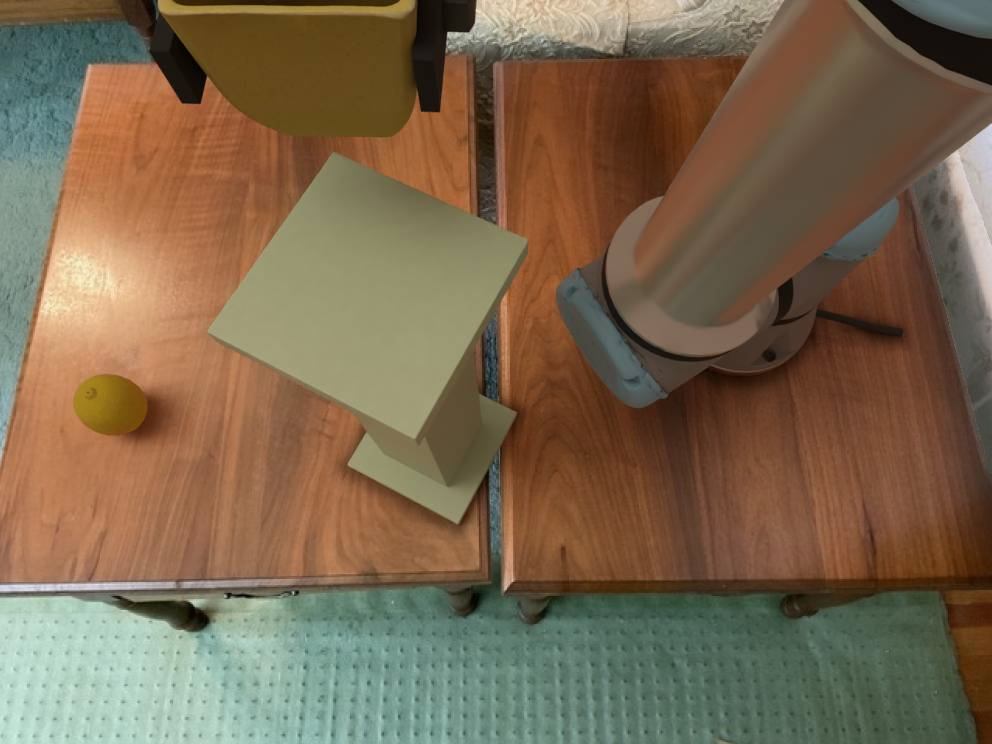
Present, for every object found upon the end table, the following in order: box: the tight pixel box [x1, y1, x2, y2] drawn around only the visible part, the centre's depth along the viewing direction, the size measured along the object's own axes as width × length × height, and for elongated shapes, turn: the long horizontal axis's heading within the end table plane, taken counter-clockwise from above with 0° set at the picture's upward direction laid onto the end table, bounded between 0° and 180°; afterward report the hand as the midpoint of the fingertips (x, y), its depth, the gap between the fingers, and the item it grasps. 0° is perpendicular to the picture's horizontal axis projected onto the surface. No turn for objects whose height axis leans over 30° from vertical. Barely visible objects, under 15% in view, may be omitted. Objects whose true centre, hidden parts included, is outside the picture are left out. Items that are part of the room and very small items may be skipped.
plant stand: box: [206, 151, 530, 526], centre depth 51 cm, size 12×12×34 cm
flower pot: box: [157, 0, 419, 139], centre depth 29 cm, size 9×9×9 cm
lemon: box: [72, 373, 149, 437], centre depth 65 cm, size 6×6×8 cm
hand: (300, 82), depth 26 cm, fingers closed on flower pot, 9 cm apart
